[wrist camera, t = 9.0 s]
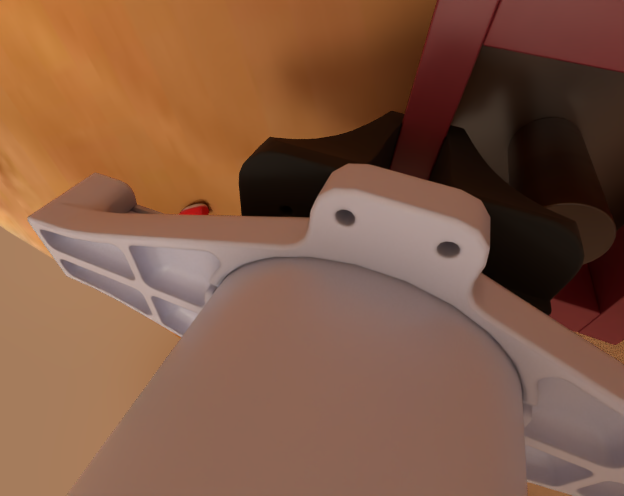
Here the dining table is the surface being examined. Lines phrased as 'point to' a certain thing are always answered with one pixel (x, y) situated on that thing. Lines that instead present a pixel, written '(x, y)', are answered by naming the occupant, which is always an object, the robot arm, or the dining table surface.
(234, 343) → the robot arm
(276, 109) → the dining table surface
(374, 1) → the dining table surface
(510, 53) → the stand
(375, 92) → the dining table surface
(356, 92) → the dining table surface
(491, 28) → the square frame
